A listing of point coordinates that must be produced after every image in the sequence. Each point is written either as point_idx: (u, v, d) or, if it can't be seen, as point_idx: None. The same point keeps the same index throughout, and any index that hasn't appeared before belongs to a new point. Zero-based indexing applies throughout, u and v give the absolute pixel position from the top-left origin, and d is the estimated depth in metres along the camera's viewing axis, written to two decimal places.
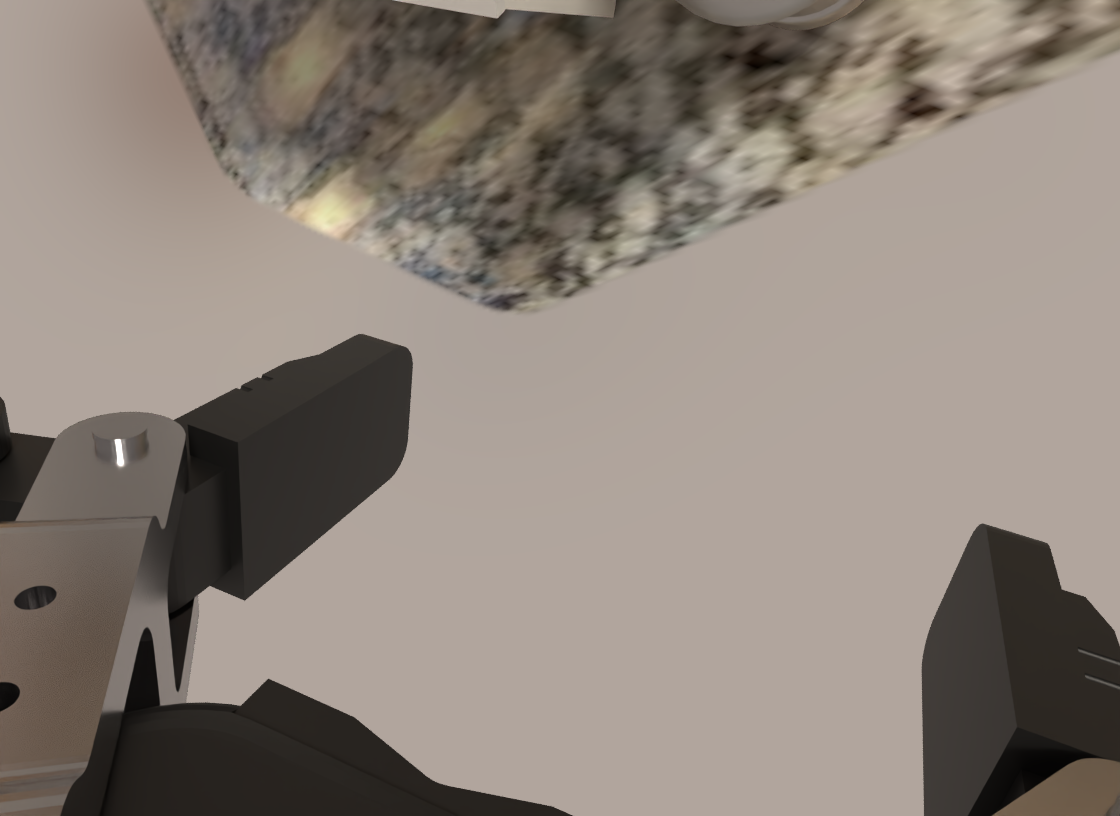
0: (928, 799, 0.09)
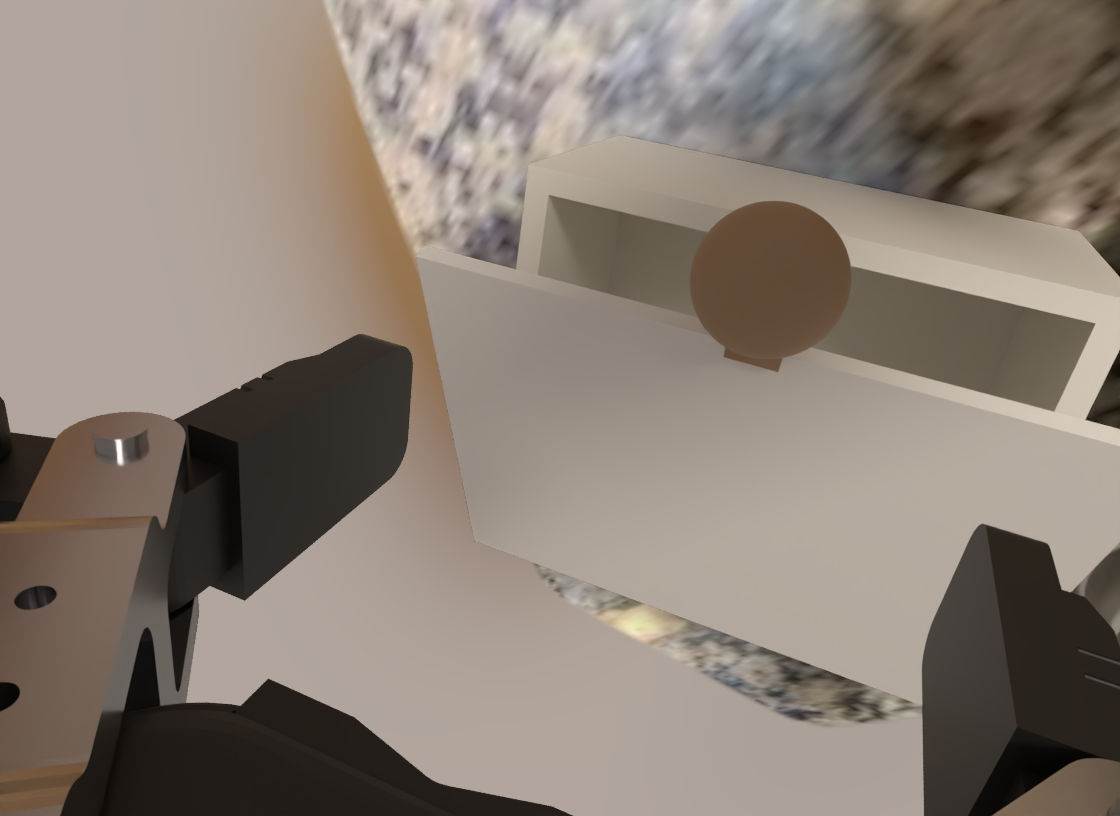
0: (928, 799, 0.09)
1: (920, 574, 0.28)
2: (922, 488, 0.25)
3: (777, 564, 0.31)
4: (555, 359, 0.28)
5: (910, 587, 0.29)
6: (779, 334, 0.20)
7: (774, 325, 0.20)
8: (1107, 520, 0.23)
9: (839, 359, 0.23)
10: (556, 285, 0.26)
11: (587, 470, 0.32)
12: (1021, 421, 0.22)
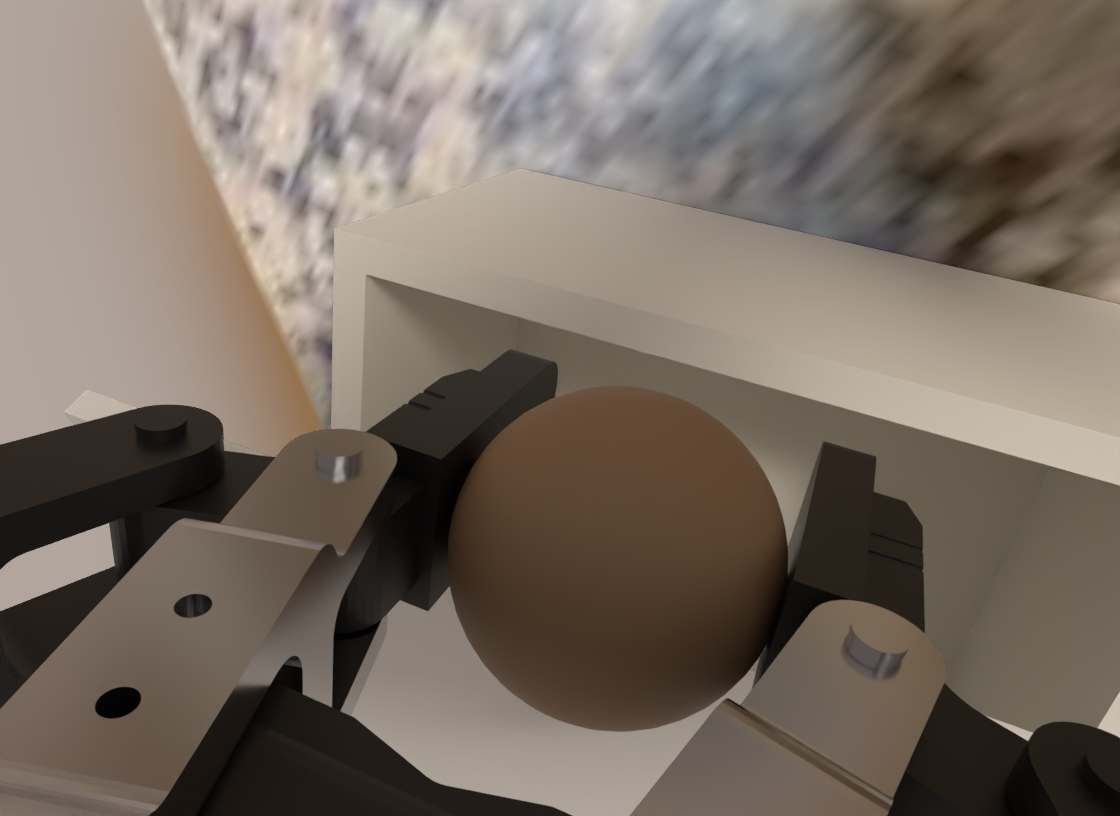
0: (757, 668, 0.10)
1: None
2: None
3: None
4: None
5: None
6: (616, 717, 0.09)
7: (601, 705, 0.08)
8: None
9: None
10: None
11: (417, 702, 0.21)
12: None
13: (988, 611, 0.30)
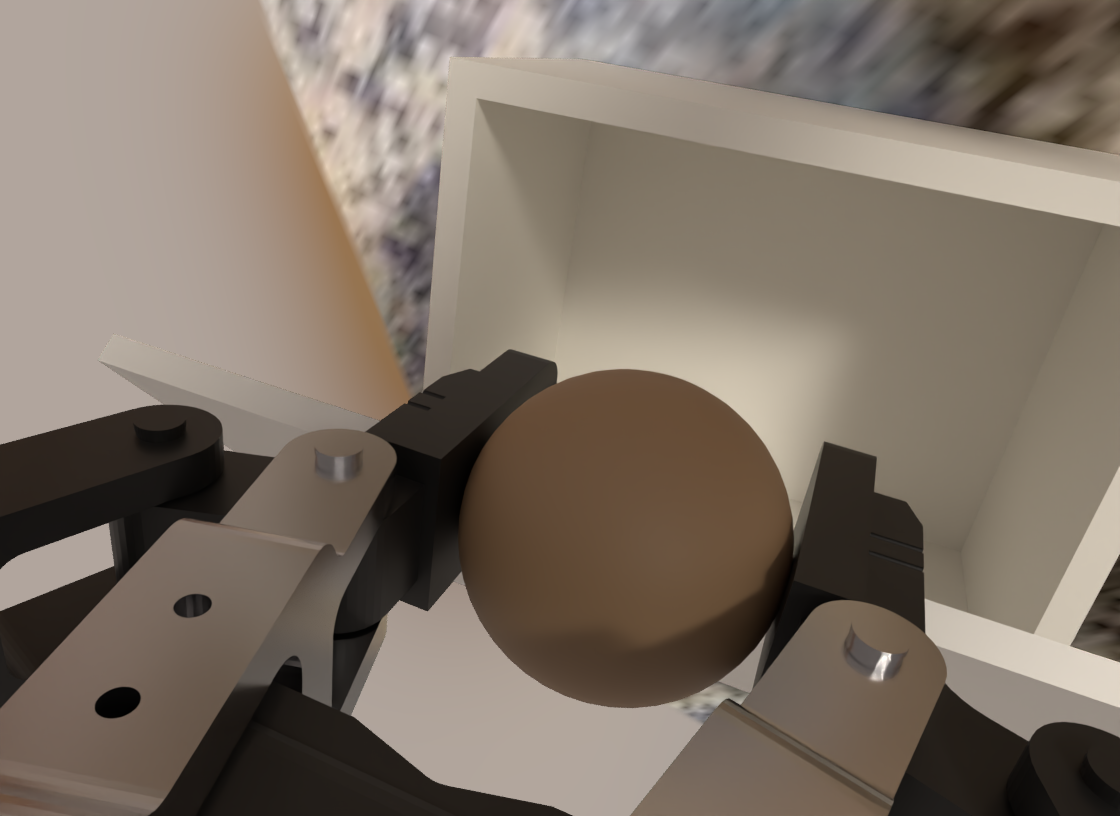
0: (757, 669, 0.10)
1: None
2: None
3: None
4: None
5: None
6: (627, 706, 0.09)
7: (610, 701, 0.09)
8: None
9: None
10: (315, 414, 0.15)
11: None
12: None
13: (1010, 452, 0.33)
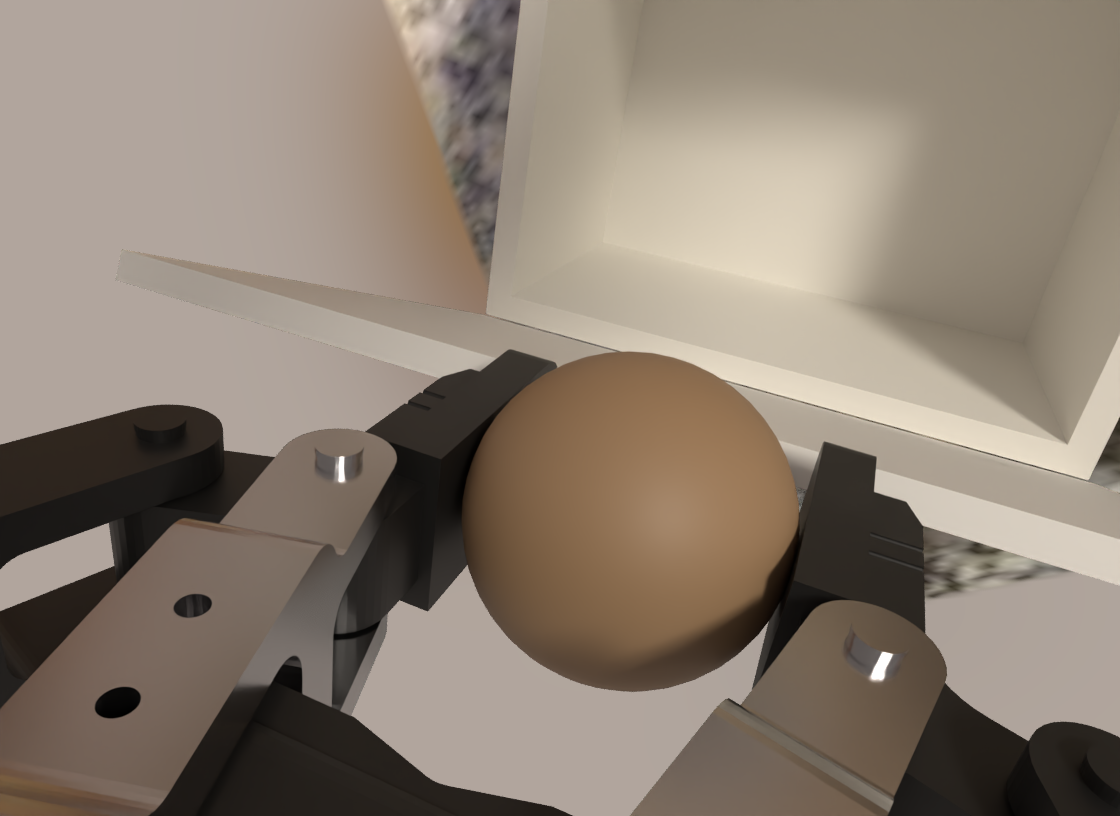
0: (757, 669, 0.10)
1: None
2: None
3: None
4: None
5: None
6: None
7: None
8: None
9: None
10: (332, 325, 0.14)
11: None
12: None
13: (1078, 224, 0.33)
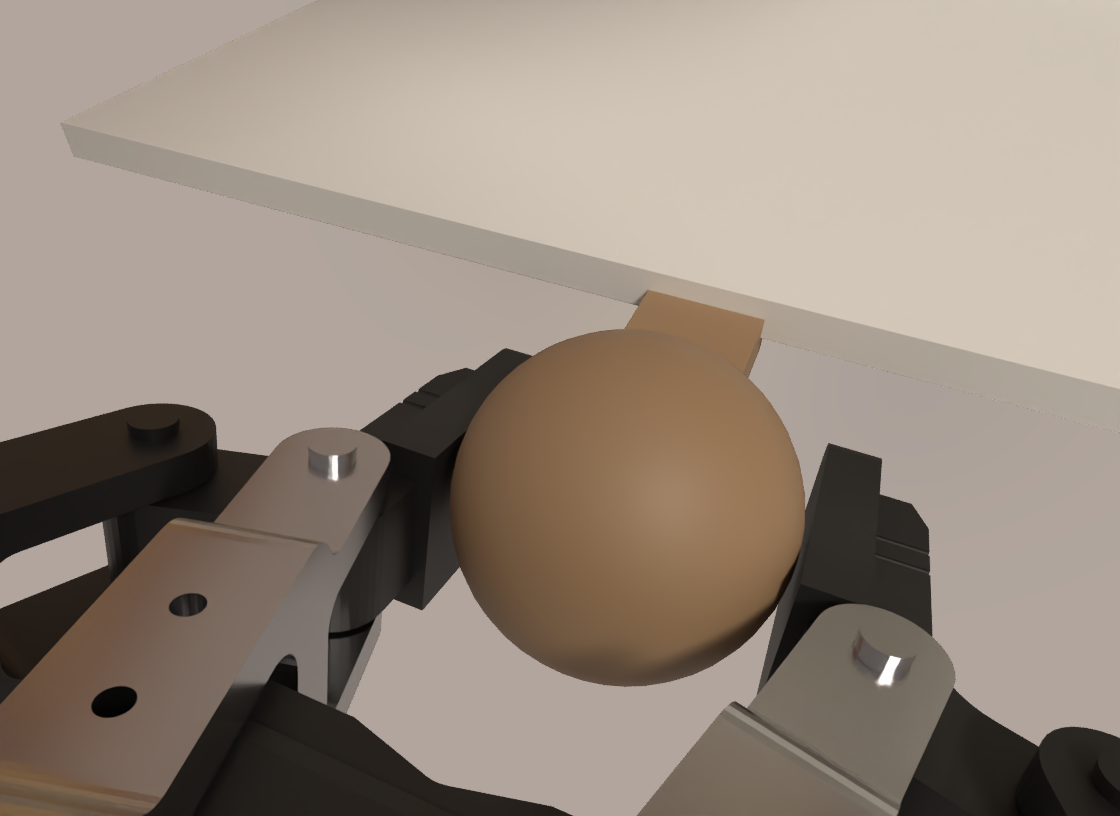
0: (762, 672, 0.10)
1: None
2: None
3: None
4: None
5: None
6: None
7: None
8: None
9: (886, 342, 0.10)
10: (302, 197, 0.13)
11: None
12: None
13: None
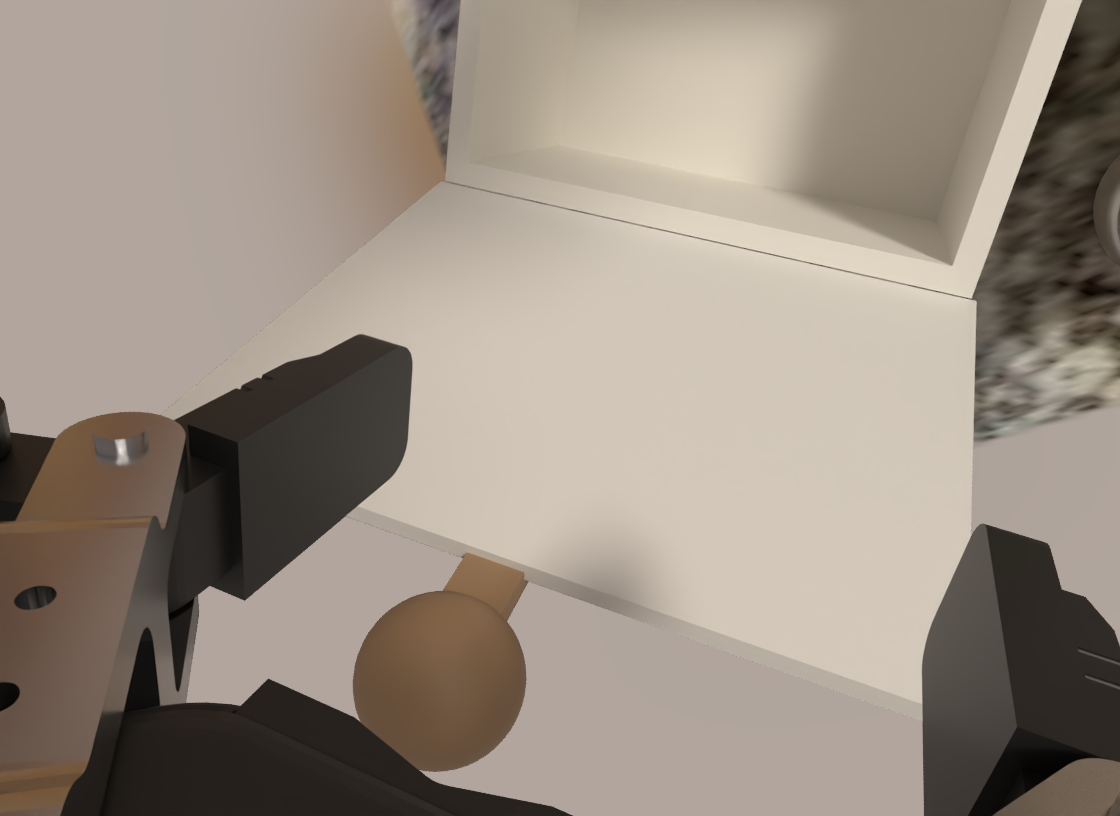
0: (928, 799, 0.09)
1: None
2: None
3: None
4: None
5: None
6: None
7: None
8: None
9: (580, 589, 0.20)
10: None
11: None
12: (775, 666, 0.19)
13: (977, 103, 0.37)
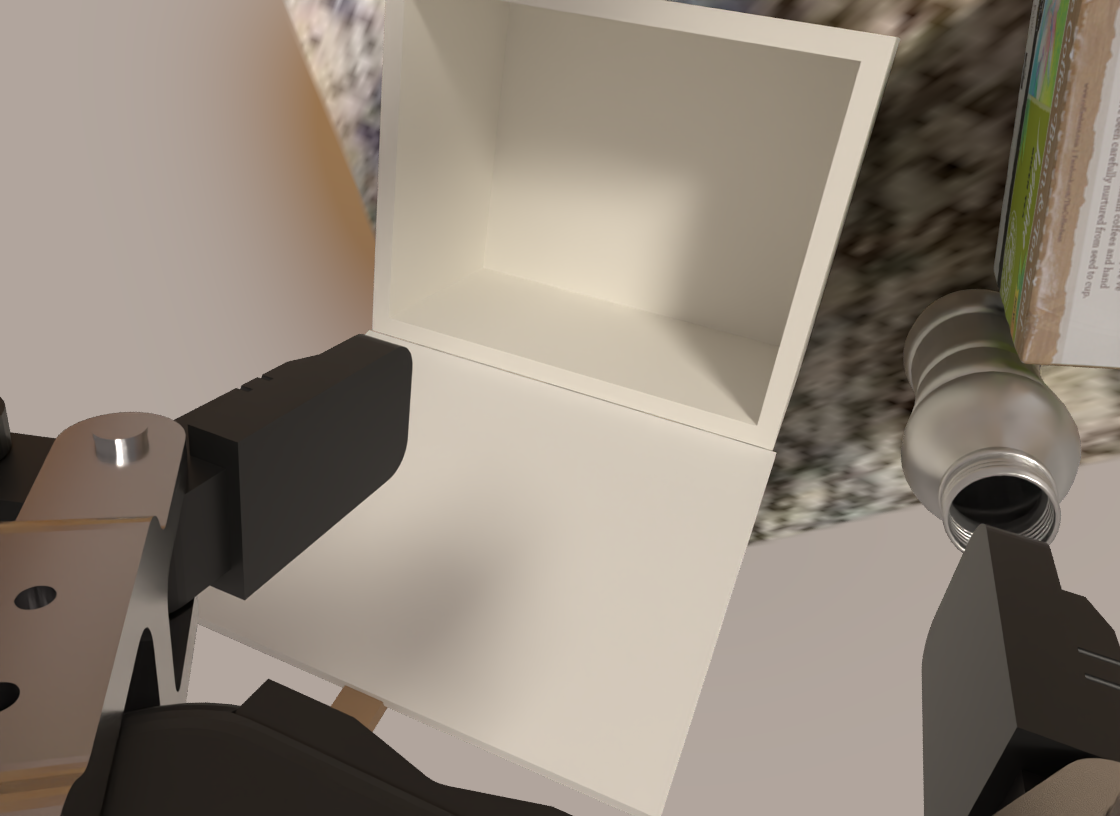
0: (928, 799, 0.09)
1: None
2: None
3: None
4: None
5: None
6: None
7: None
8: None
9: (419, 716, 0.29)
10: (220, 629, 0.31)
11: None
12: (546, 774, 0.28)
13: None
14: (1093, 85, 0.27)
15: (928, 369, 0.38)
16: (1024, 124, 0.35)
